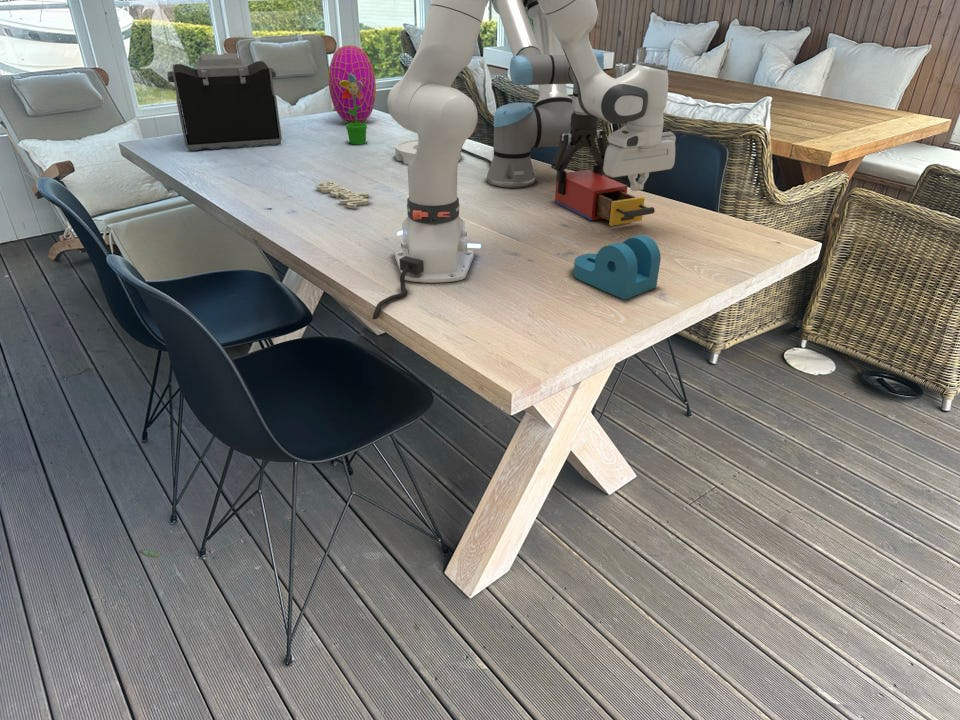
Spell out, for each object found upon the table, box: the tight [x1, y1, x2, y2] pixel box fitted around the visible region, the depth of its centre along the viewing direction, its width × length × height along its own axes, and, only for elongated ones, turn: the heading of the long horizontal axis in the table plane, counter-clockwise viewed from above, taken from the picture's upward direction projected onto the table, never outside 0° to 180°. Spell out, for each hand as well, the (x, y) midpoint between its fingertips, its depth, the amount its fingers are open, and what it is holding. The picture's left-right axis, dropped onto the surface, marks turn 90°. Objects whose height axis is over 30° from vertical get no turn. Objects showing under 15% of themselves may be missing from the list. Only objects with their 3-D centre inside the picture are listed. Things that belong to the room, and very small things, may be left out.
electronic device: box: [166, 52, 283, 152], centre depth 253 cm, size 37×22×30 cm, turn 111°
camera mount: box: [573, 234, 662, 301], centre depth 150 cm, size 18×10×10 cm, turn 39°
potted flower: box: [339, 73, 368, 145], centre depth 255 cm, size 9×8×25 cm
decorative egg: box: [328, 44, 377, 124], centre depth 286 cm, size 19×19×30 cm
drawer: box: [595, 191, 656, 227], centre depth 186 cm, size 22×10×6 cm, turn 27°
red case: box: [554, 169, 628, 222], centre depth 195 cm, size 19×11×8 cm, turn 27°
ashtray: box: [394, 138, 462, 165], centre depth 243 cm, size 23×23×4 cm
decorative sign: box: [316, 180, 370, 210], centre depth 205 cm, size 26×1×10 cm
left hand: (636, 189), depth 176 cm, fingers closed
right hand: (578, 191), depth 199 cm, fingers closed on red case, 11 cm apart
